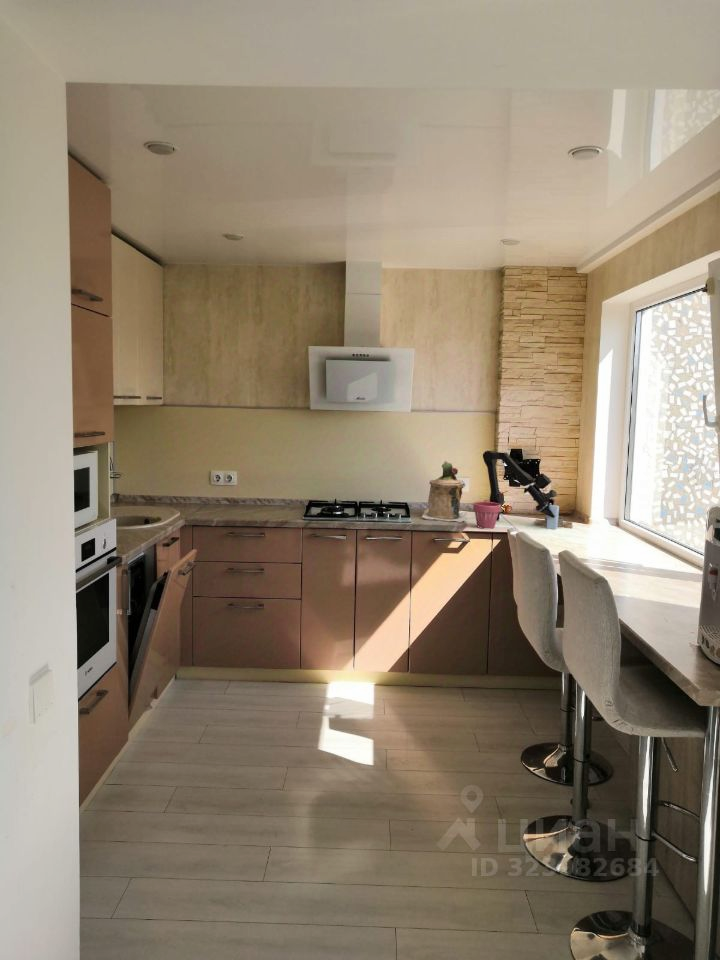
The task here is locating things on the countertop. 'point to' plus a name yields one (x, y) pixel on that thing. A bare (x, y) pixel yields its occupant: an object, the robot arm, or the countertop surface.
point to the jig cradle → (560, 522)
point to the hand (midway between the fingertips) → (555, 516)
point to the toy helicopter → (507, 508)
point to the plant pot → (486, 513)
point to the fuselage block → (553, 522)
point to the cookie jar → (445, 497)
